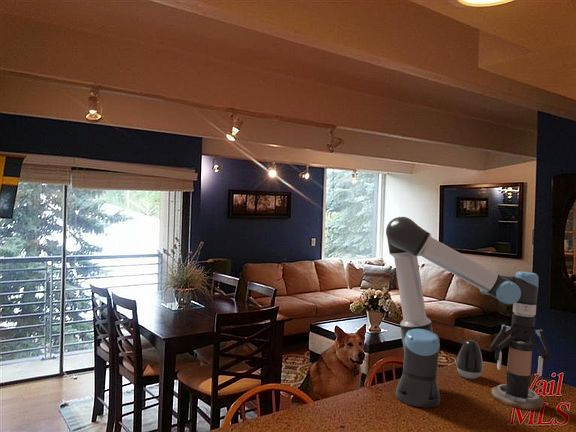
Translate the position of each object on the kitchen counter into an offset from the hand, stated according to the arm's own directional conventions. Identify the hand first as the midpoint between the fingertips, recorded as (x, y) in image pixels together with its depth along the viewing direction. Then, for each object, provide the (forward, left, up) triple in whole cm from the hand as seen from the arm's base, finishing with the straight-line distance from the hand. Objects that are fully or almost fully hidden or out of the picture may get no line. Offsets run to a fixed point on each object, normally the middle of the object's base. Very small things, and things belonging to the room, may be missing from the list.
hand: (518, 371), depth 168 cm
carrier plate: (0, 0, -10) cm, 10 cm away
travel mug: (0, 0, -9) cm, 9 cm away
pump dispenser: (-15, +17, -10) cm, 25 cm away
